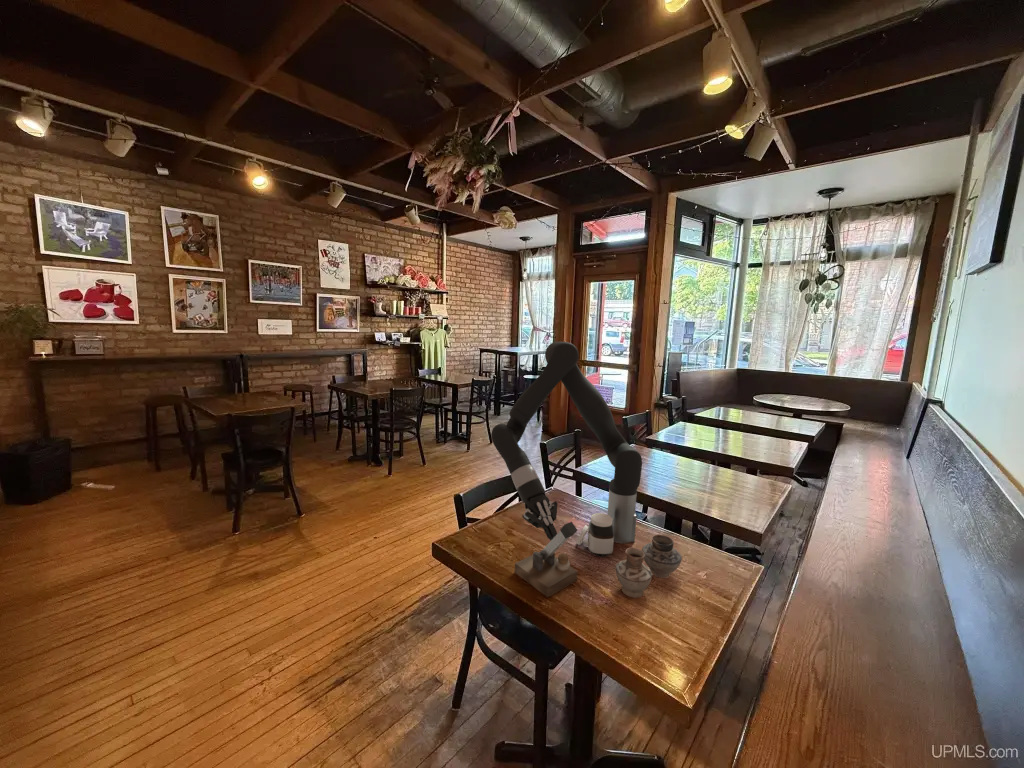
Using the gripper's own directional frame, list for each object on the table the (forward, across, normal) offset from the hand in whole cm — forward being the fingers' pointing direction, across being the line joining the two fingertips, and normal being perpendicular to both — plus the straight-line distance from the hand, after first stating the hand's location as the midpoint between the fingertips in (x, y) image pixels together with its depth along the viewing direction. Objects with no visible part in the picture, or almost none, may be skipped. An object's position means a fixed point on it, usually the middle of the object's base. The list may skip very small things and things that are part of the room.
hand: (554, 538), depth 116 cm
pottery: (+22, +22, -3) cm, 31 cm away
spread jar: (+7, +23, +12) cm, 27 cm away
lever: (+3, 0, +8) cm, 8 cm away
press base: (+7, 0, +12) cm, 14 cm away
